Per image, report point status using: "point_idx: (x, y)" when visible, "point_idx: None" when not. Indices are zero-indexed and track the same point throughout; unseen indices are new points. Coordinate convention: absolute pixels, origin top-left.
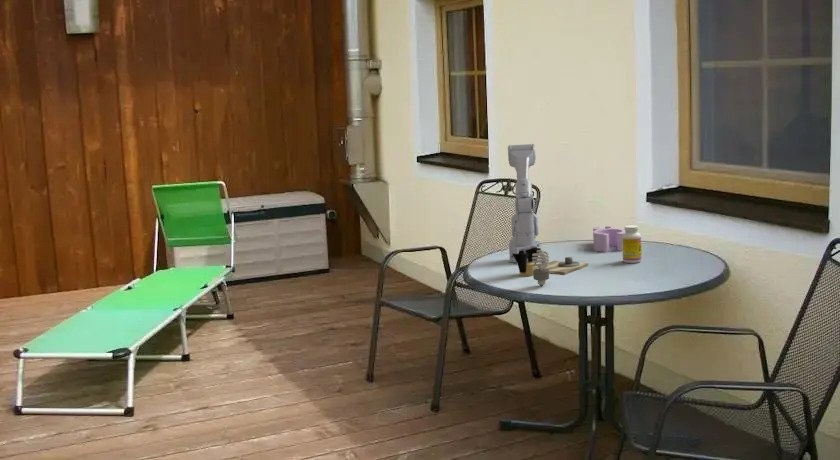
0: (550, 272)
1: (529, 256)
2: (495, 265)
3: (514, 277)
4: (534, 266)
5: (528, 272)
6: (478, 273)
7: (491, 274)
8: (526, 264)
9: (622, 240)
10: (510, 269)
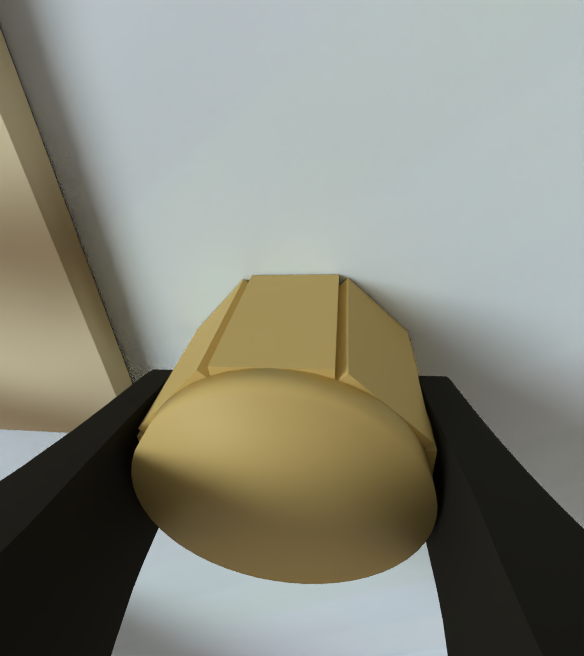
0: (26, 117)
1: (92, 627)
2: (170, 638)
3: (517, 421)
4: (252, 351)
5: (392, 341)
6: (431, 652)
7: (435, 599)
8: (393, 479)
9: None
10: (203, 559)
